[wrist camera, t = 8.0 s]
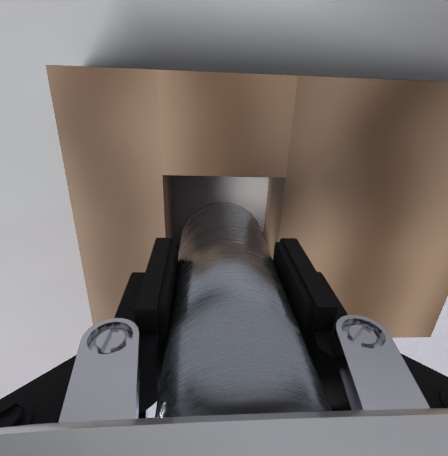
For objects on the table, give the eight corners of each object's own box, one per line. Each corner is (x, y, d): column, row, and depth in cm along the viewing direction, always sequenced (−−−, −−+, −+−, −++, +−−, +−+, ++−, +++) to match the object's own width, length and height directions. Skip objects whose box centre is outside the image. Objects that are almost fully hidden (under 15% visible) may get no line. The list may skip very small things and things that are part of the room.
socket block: (469, 85, 16) (534, 85, 13) (397, 300, 22) (430, 337, 19) (79, 69, 15) (45, 64, 12) (113, 302, 21) (96, 341, 18)
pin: (264, 203, 13) (363, 393, 5) (257, 273, 15) (325, 507, 7) (180, 202, 13) (141, 400, 5) (182, 274, 14) (155, 517, 6)
